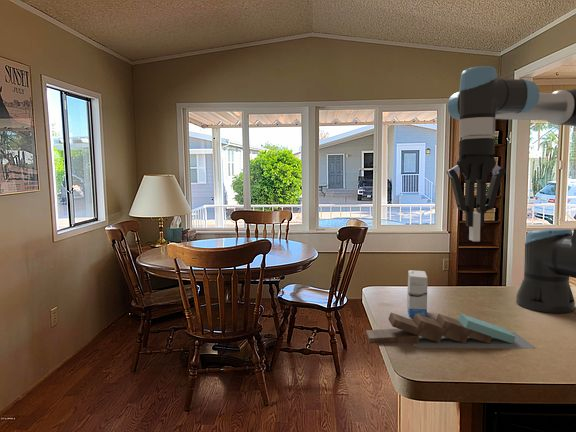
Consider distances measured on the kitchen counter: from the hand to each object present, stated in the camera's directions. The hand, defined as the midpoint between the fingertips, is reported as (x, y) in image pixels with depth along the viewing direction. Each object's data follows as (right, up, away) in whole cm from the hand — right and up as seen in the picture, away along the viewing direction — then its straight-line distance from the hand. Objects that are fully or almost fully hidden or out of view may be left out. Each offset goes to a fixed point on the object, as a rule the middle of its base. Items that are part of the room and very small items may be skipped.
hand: (474, 240), depth 103 cm
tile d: (-8, -23, +2) cm, 24 cm away
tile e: (-13, -23, +3) cm, 26 cm away
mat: (-1, -24, +2) cm, 24 cm away
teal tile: (+9, -23, +2) cm, 25 cm away
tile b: (+4, -23, +2) cm, 23 cm away
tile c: (-2, -23, +2) cm, 23 cm away
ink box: (-7, -22, +23) cm, 33 cm away
